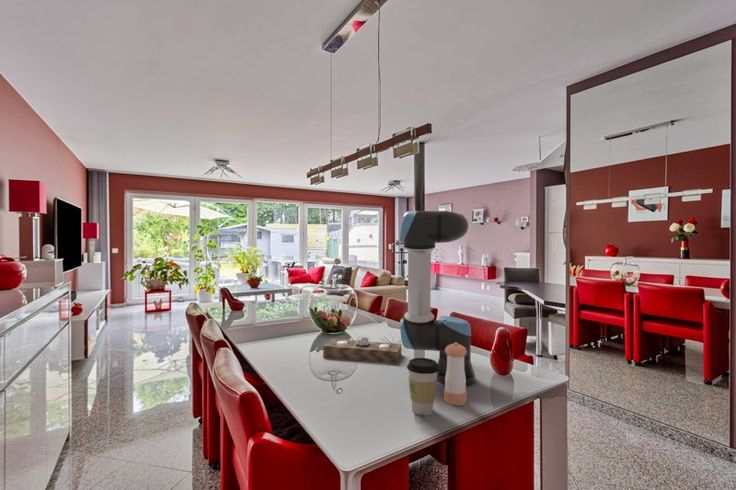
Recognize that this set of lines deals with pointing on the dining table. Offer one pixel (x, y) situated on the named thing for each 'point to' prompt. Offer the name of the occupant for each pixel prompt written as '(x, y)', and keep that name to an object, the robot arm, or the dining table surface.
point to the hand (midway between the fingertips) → (423, 289)
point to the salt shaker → (455, 375)
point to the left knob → (342, 343)
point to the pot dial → (363, 342)
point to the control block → (362, 351)
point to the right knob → (384, 346)
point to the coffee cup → (422, 384)
